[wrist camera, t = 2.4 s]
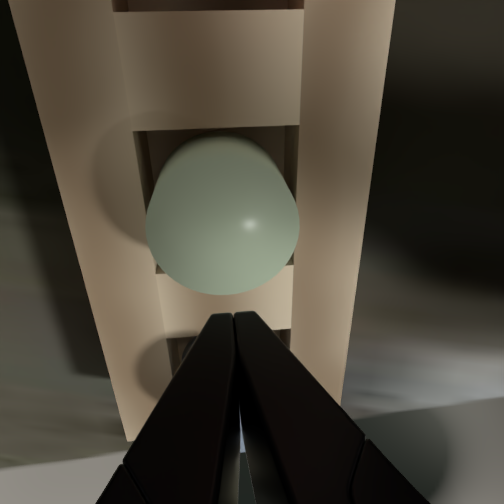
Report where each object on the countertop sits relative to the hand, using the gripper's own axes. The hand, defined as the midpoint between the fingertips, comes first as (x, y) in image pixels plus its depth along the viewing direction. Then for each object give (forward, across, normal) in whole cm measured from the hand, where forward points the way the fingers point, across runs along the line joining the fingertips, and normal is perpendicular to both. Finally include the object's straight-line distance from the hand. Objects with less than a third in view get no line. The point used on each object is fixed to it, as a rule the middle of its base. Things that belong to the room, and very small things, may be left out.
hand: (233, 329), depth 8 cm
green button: (+7, 0, 0) cm, 7 cm away
